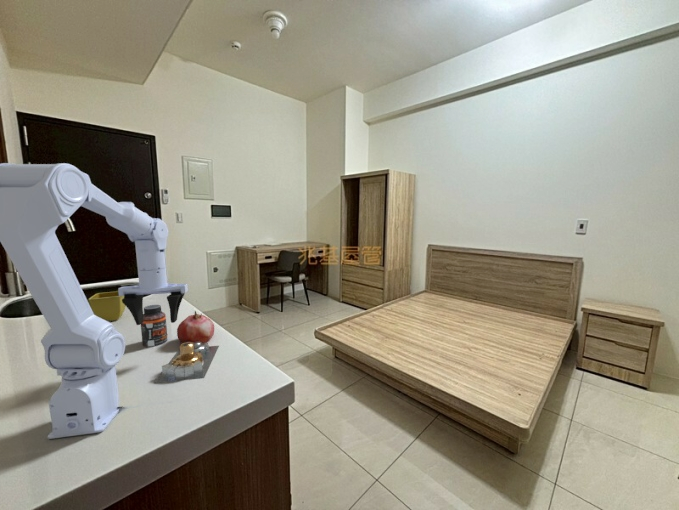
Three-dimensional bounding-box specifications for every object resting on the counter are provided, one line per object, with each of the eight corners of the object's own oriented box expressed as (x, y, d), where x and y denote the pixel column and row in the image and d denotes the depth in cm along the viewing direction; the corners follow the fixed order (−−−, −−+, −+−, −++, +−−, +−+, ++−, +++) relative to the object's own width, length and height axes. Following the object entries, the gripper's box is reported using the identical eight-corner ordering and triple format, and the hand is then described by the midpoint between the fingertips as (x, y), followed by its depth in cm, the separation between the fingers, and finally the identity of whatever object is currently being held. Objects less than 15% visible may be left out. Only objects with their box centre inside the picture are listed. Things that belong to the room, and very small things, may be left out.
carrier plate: (204, 382, 63) (204, 376, 63) (153, 387, 61) (153, 381, 61) (219, 349, 79) (219, 344, 78) (179, 352, 77) (179, 347, 76)
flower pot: (99, 317, 103) (96, 292, 102) (129, 313, 107) (126, 290, 106) (90, 325, 95) (87, 299, 94) (123, 321, 99) (120, 296, 98)
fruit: (180, 339, 85) (177, 306, 83) (215, 334, 88) (213, 303, 87) (175, 353, 76) (172, 317, 75) (214, 347, 79) (212, 312, 78)
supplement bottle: (156, 351, 77) (152, 310, 76) (137, 349, 78) (133, 309, 77) (172, 341, 83) (169, 304, 82) (155, 340, 84) (151, 302, 83)
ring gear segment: (200, 376, 63) (199, 366, 63) (159, 381, 62) (158, 370, 61) (203, 370, 66) (203, 360, 66) (164, 374, 64) (163, 364, 64)
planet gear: (200, 368, 66) (199, 347, 65) (170, 373, 64) (168, 352, 63) (204, 356, 72) (202, 337, 71) (176, 360, 70) (174, 340, 69)
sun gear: (205, 356, 72) (205, 347, 72) (179, 359, 71) (178, 349, 71) (211, 346, 78) (210, 337, 78) (187, 348, 77) (186, 339, 76)
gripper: (189, 264, 74) (193, 314, 76) (127, 266, 72) (132, 318, 74) (180, 269, 68) (184, 324, 70) (110, 271, 65) (117, 329, 67)
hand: (157, 322), depth 71 cm, fingers open, 7 cm apart
